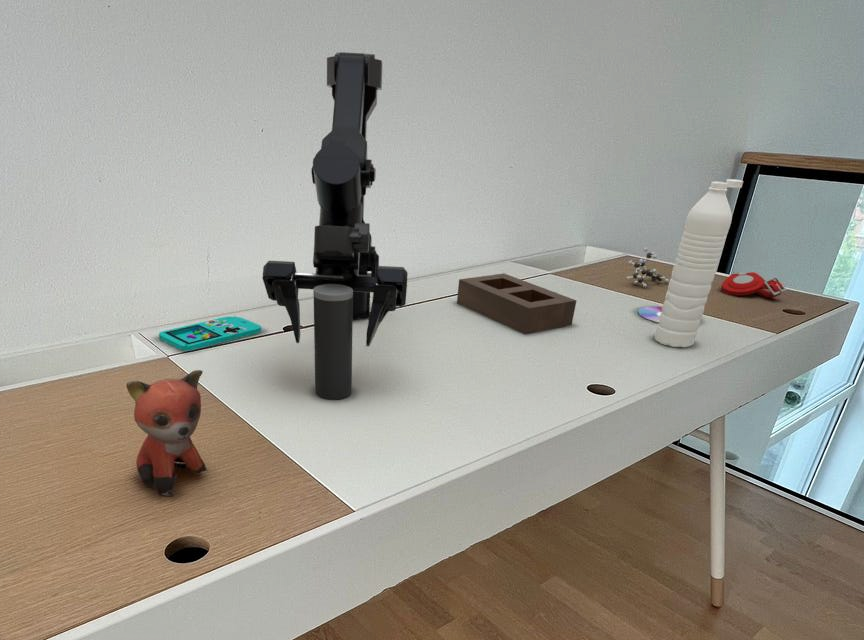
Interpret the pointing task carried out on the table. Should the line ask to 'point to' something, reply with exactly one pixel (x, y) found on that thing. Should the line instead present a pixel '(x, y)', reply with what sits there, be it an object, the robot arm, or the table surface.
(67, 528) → the table surface
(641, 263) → the molecule model
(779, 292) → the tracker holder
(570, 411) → the table surface
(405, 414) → the table surface
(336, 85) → the robot arm
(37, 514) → the table surface
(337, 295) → the cylindrical canister
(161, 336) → the handheld gaming console
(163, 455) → the stuffed fox
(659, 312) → the cd
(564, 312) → the block
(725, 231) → the water bottle
